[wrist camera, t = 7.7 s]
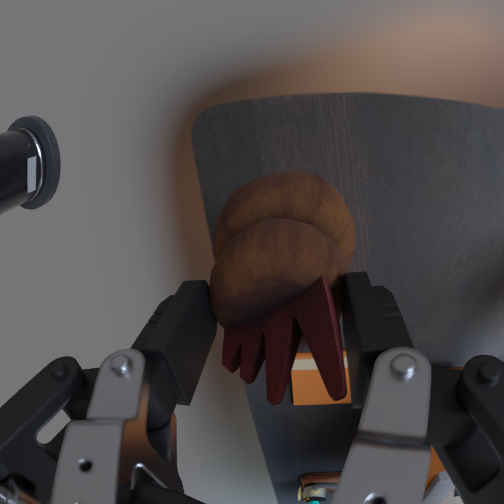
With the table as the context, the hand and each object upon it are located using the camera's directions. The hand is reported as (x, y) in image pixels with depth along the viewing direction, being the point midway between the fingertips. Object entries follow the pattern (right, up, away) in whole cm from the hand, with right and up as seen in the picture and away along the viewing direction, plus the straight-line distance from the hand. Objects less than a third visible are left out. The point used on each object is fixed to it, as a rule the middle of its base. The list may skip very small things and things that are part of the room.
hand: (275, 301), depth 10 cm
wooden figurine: (+2, +5, +9) cm, 11 cm away
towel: (+10, -14, +24) cm, 30 cm away
